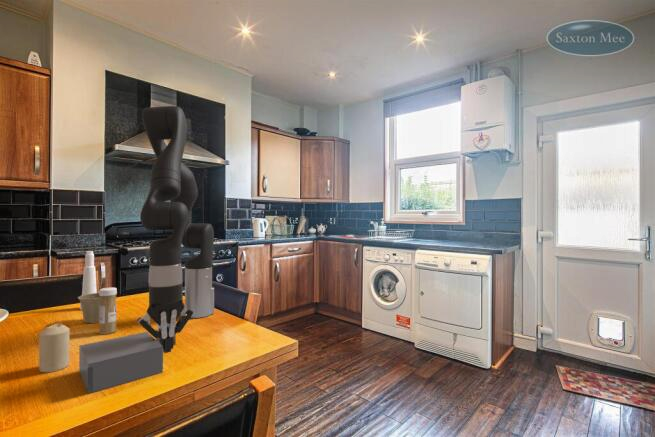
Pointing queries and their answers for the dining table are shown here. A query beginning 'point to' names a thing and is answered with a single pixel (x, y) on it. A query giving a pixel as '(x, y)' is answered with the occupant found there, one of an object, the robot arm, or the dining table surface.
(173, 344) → the block
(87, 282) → the cosmetic bottle
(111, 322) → the sprinkles bottle
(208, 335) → the dining table surface
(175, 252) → the robot arm
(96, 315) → the flower pot
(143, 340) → the block
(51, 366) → the candle
